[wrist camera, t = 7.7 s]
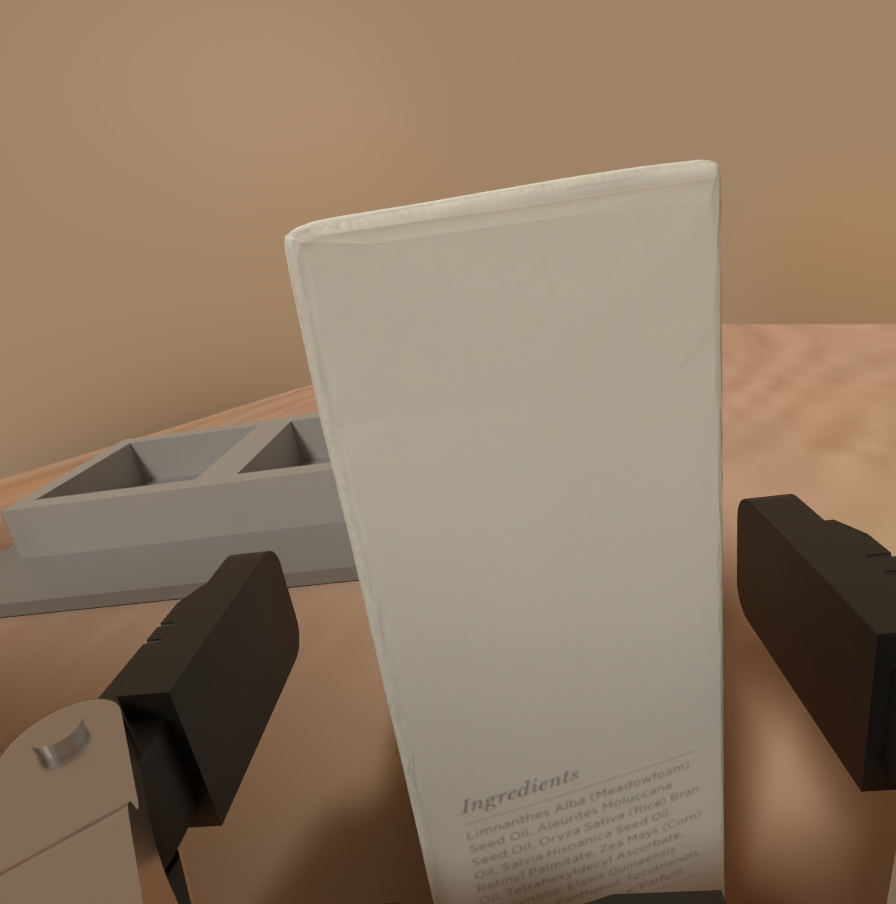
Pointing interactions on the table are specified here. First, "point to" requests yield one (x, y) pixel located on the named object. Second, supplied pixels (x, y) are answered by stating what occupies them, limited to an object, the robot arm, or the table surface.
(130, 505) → the tray
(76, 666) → the table surface
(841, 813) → the table surface
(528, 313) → the skincare box
